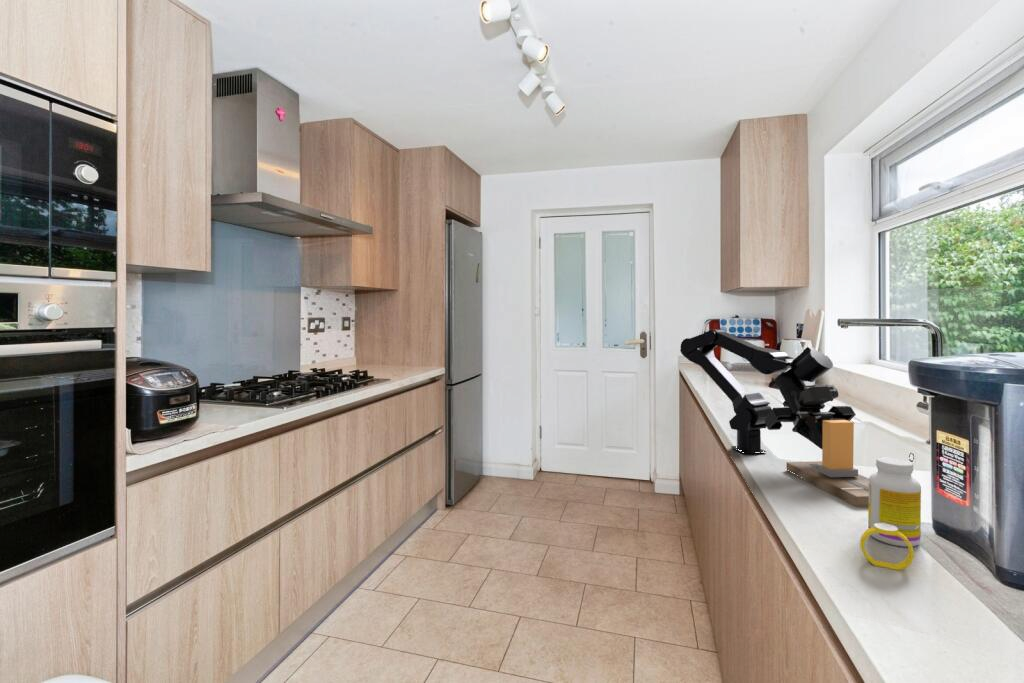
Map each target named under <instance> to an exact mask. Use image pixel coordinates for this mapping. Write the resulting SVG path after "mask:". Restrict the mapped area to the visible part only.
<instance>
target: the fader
mask: <svg viewBox="0 0 1024 683" xmlns="http://www.w3.org/2000/svg"><path fill="white" fill-rule="evenodd" d="M854 424H855V423H854V422H853V421H851V420H850V421H848V420H823V442H822V449H821V450H822V453H821V455H822V456H821V458H822V465H818V472H820V473H822V474H824V475H826V476H828V477H858V474H859V469H858V468H855V467H854V444H855V443H854V439H855V437H854V434H855V432H854V431H855V426H854Z"/></svg>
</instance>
